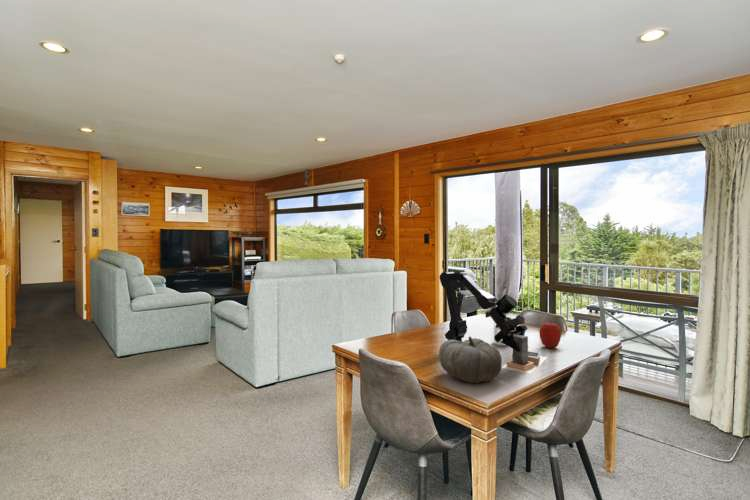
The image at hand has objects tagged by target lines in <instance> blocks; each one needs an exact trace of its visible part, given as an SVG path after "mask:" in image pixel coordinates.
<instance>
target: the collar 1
mask: <svg viewBox="0 0 750 500" xmlns="http://www.w3.org/2000/svg"><path fill="white" fill-rule="evenodd" d="M506 364H507V366H508V367H511V368H515V369H518V370H522V371H526V370H528V369H531V368H533V367H534V362H530V361H528V364H526V365H520V364H516V363H513V360H512V359H511V360H508V361H506Z"/></svg>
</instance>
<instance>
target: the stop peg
mask: <svg viewBox="0 0 750 500" xmlns="http://www.w3.org/2000/svg"><path fill="white" fill-rule="evenodd" d="M528 337H529V336H527V335H524V336H522V335H516V336H513V339H514V341H515V342H516V344H517V345H518V347H519V349H520V351H519V352H517V351H516V350H514V349H512V354H513V363H516V364H520V365H526V364H528V351H529V350H528V349H529V344H528V343H529V338H528Z"/></svg>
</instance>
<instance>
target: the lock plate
mask: <svg viewBox="0 0 750 500" xmlns="http://www.w3.org/2000/svg"><path fill="white" fill-rule="evenodd" d="M547 359H548V356H542V355H540V361H539V357H534V356H528V361H530V362H534V367H533V368H531V369H528V370H526V371H522V370H518V369H515V368H511V367H508V366H507V363H505V364H504V365H503V366H501V369H505V370H511V371H515V372H520V373H524V374H529V375H531V374H533V372H534V371H535V370H536V369H537V368H538V367H540V365H541V364H543V363H544V362H545V361H546V360H547ZM511 360H513V353H512V355H511Z"/></svg>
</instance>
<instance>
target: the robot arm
mask: <svg viewBox="0 0 750 500" xmlns="http://www.w3.org/2000/svg"><path fill="white" fill-rule="evenodd" d="M458 281H459V282H460V283H461V284H462V286H464V287H465V288H466V289H467V290H468V291H469V292H470V293H471V294H472V296H473V297H474V298H475V300H476V303H477V304H478V306H479V307H480V308H481V309H483V310H486V311H485V317H484V318H491V320H492V321H493V322H494V323H495V324H496V328H499V329H500V330H501V331H500V332H498V333H497V334H496V335H495V336H494V335H493V340H494V339H495V341H496V342H497V343H498V342H500V341H501V339H502V340H503V341H501V343H503V344H505V345H504V346H508V347H509V348H511V349H512V350H513V349H514V350H516V351H517V352H519V351H520V349H519V347H518V345H517V344H516V342H515V341H514V339H513V336H516V335H522V336H525V333H526V331H527V330H528V327H527V326H526V322H525V320H526V317H524V315H522V314H519V315H516V316H515V318H511V317H507V314H509V313H510V312H512V311H513V310H514V309H515V308H516V307H517V306H518V302H517V300H516V299H515V298H514V297H512V296H510V295H508V294H507V293H506V294H503V295H502V297H501V298H500V299H498V298H496V297H495V296H493V295H492V294H491V293H489V292H487V291H485V290H484V289H482V287H480V286H479V285H478V284H477V283H476V281H474V280H473V279H472V278H471V277H470V276H469V275H468V273H467V272H466V271H458V272H454V271H443V272H441V273H440V275H439V282H440V284H441V286H442V288H443V289H444V290H445V294H446V301H447V306H448V311H449V316H450V319H449V324H448V329H449V330H448V331H447V332H446V333H444V336H445V339H446V340H447V341H448V340H457V341H460V342H463V338H465V335H466V334H467V332H468V325H467V320H466V319H464V320H463V318H462V316H461V311H460V307H459V301H458V295H457V291H456V290H457V289H456V287H457V283H458ZM489 309H490V310H489Z"/></svg>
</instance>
